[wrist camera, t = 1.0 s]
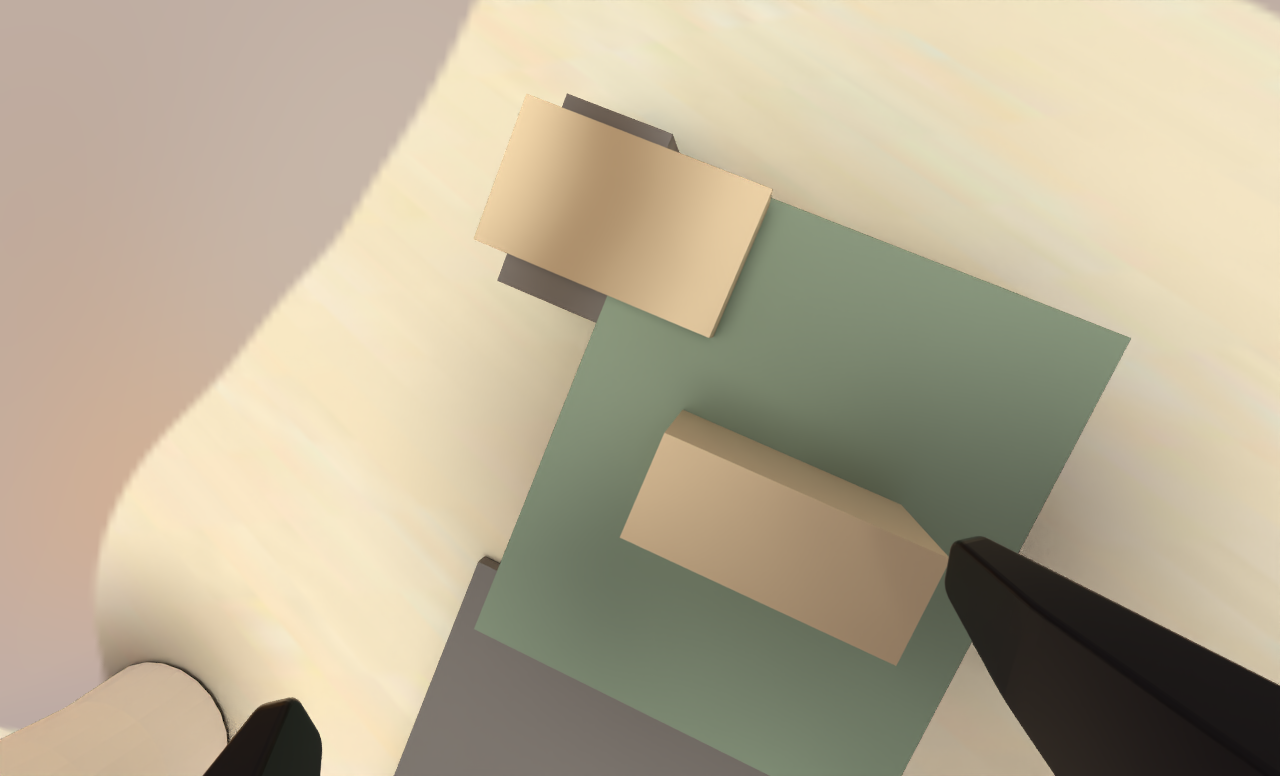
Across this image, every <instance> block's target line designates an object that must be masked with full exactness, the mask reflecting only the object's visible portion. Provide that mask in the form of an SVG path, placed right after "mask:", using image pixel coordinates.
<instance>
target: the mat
mask: <svg viewBox="0 0 1280 776" xmlns="http://www.w3.org/2000/svg"><path fill="white" fill-rule="evenodd" d="M499 565H500V564H499V563H497V562H495V561H493V560H491V559H489V558H487V557H483V558H482V559H481V560H480V561H479V562H478V564H477V567H476V569H475V572H474V574H473V577H472V579H471V582H470V584H469V587H468V589H467V592H466V595H465V597H464V600H463V602H462V605H461V607H460V610H459V612H458V615H457V617H456V620H455V622H454V625H453V628H452V630H451V633H450V635H449V638H448V640H447V643H446V645H445V648H444V650H443V653H442V655H441V658H440V660H439V663H438V666H437V668H436V671H435V673H434V676H433V678H432V681H431V683H430V686H429V688H428V691H427V693H426V696H425V698H424V701H423V704H422V706H421V709H420V711H419V714H418V716H417V719H416V721H415V724H414V726H413V729H412V731H411V734H410V736H409V739H408V742H407V744H406V747H405V749H404V752H403V754H402V757H401V759H400V762H399V764H398V767H397V769H396V772H395V775H394V776H769V775H767V774H765V773H763V772H761V771H759V770H757V769H755V768H753V767H751V766H749V765H747V764H745V763H743V762H741V761H739V760H737V759H735V758H733V757H731V756H729V755H727V754H725V753H723V752H721V751H719V750H717V749H715V748H713V747H711V746H709V745H707V744H705V743H703V742H701V741H699V740H697V739H695V738H693V737H691V736H689V735H687V734H685V733H683V732H681V731H679V730H677V729H675V728H673V727H670V726H668V725H666V724H664V723H662V722H660V721H658V720H656V719H654V718H652V717H650V716H648V715H646V714H644V713H642V712H640V711H638V710H636V709H634V708H632V707H630V706H628V705H626V704H624V703H622V702H620V701H618V700H616V699H614V698H612V697H610V696H608V695H606V694H604V693H602V692H600V691H598V690H596V689H594V688H592V687H590V686H588V685H586V684H584V683H582V682H580V681H578V680H576V679H574V678H572V677H570V676H568V675H566V674H564V673H562V672H560V671H558V670H556V669H553V668H551V667H549V666H547V665H545V664H543V663H541V662H539V661H537V660H535V659H533V658H531V657H529V656H527V655H525V654H523V653H521V652H519V651H517V650H515V649H513V648H511V647H509V646H507V645H505V644H503V643H501V642H499V641H497V640H495V639H493V638H491V637H489V636H487V635H485V634H483V633H481V632H479V631H477V630H475V629H474V628H475V625H476V623H477V620H478V618H479V615H480V613H481V610H482V608H483V605H484V603H485V600H486V598H487V595H488V593H489V590H490V588H491V585H492V583H493V580H494V578H495V575H496V573H497V570H498V568H499Z"/></svg>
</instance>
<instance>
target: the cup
mask: <svg viewBox="0 0 1280 776" xmlns="http://www.w3.org/2000/svg"><path fill="white" fill-rule="evenodd" d="M226 746H227V733H226V729H225V726H224V723H223V720H222V716H221V713H220V711H219V710H218V708H217V706H216V704H215V703H214V701H213V699H212V698H211V696H210V695H209V694H208V692H207V691H206V690H205V689H204V688H203V687H202V686H201V685H200V684H199V683H198V682H197V681H196V680H195V679H193V678H192V677H190V676H189V675H187V674H186V673H184V672H183V671H182V670H180V669H177V668H174V667H171V666H169V665H166V664H162V663H149V662H145V663H140V664H136V665H132V666H129V667H127V668H125V669H124V670H122V671H120V672H119V673H117V674H115V675H114V676H112V677H111V678H109V679H108V680H106V681H105V682H103V683H102V684H100V685H99V686H97V687H96V688H94V689H93V690H91V691H90V692H88V693H87V694H85V695H84V696H82V697H81V698H79V699H78V700H76V701H75V702H73V703H72V704H70V705H69V706H67V707H66V708H64V709H62V710H60V711H58V712H55V713H53V714H51V715H49V716H47V717H45V718H43V719H41V720H39V721H37V722H35V723H33V724H31V725H29V726H27V727H25V728H22V729H20V730H18V731H16V732H14V733H12V734H10V735H8V736H6V737H4V738H2V739H0V776H203V774H204V773H205V772H206V771H207V769H208V768H209V767H210V766H211V764H212V763H213V762H214V761H215V759H216V758H217V757H218V756H219V754H220V753H221V752H222V751H223V749H224V748H225V747H226Z"/></svg>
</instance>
